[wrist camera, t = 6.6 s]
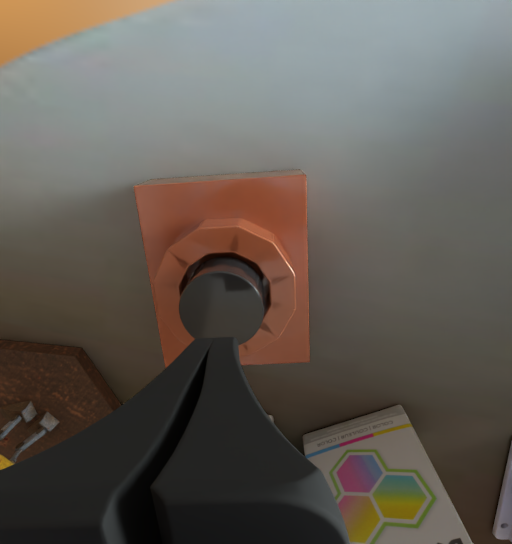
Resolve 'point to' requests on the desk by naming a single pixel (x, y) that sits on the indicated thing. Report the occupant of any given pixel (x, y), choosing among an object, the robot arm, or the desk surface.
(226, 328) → the dark charcoal cylinder
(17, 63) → the desk surface
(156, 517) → the robot arm
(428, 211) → the desk surface
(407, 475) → the ink box
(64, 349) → the robot figurine
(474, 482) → the desk surface
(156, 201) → the button housing
